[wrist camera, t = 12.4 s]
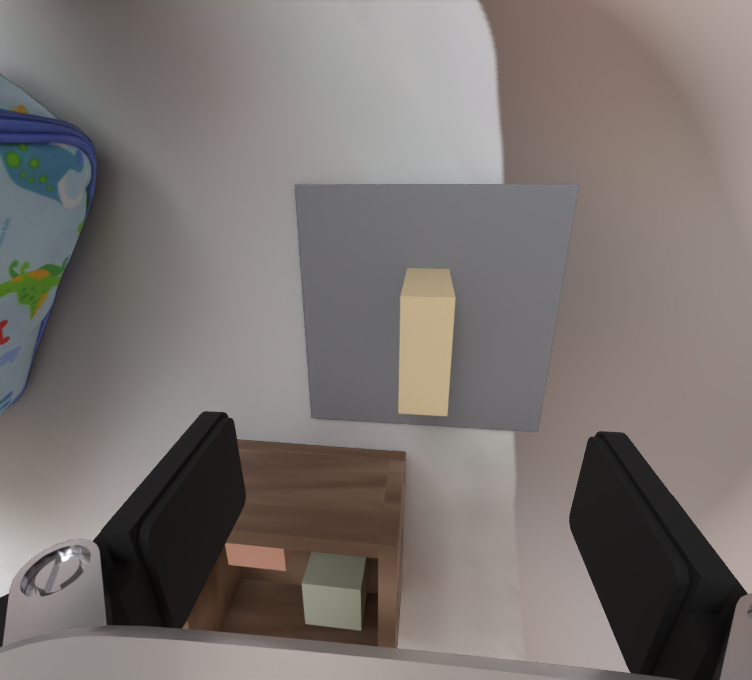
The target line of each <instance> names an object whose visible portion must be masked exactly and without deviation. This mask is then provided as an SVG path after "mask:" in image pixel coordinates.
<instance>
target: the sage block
mask: <svg viewBox="0 0 752 680" xmlns="http://www.w3.org/2000/svg"><path fill="white" fill-rule="evenodd" d="M368 583H369V558H368V557H358V556H348V555H339V554H329V553H319V552H311V555H310V558H309V562H308V565H307V568H306V571H305V574H304V578H303V581H302V593H303V604H304V614H305V624H310V625H318V626H326V627H334V628H343V629H351V630H359V631H361V630H362V623H363V616H364V610H365V603H366V596H367V590H368Z"/></svg>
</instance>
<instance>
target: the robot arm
mask: <svg viewBox="0 0 752 680" xmlns="http://www.w3.org/2000/svg"><path fill="white" fill-rule="evenodd" d="M245 500H246V491H245V485H244V479H243V473H242V467H241V461H240V455H239V449H238V443H237V437H236V431H235V425H234V421H233V419H232V418H228V415H227V414H226V413H225V412H208V411H205V412H202V413H201V414H200V415H199V417H198V418H197V419H196V420H195V421H194V422H193V424H192V425H191V426H190V427H189V428H188V429H187V431H186V432H185V433H184V434H183V435H182V436H181V438H180V439H179V440H178V441H177V442H176V443H175V445H174V446H173V447H172V448H171V449H170V450H169V452H168V453H167V454H166V455H165V456H164V457H163V459H162V460H161V461H160V462H159V463H158V464H157V466H156V467H155V468H154V469H153V470H152V471H151V473H150V474H149V475H148V476H147V477H146V478H145V480H144V481H143V482H142V483H141V484H140V485H139V487H138V488H137V489H136V490H135V491H134V492H133V494H132V495H131V496H130V497H129V498H128V499H127V501H126V502H125V503H124V504H123V505H122V506H121V508H120V509H119V510H118V511H117V512H116V514H115V515H114V516H113V517H112V518H111V519H110V521H109V522H108V523H107V524H106V525H105V526H104V528H103V529H102V530H101V532H100V533H99V534H98V536H97V537H96V538H95V539H94V540H93V541H91V540H86V539H75V540H68V541H65V542H62V543H59V544H56V545H54V546H52V547H50V548H48V549H46V550H44V551H42V552H41V553H39V554H38V555H36V556H35V557H33V558H32V559H31V560H30V561H29V562H28V563H26V564H25V565H24V566H23V567H22V568H21V569H20V571H19V572H18V573H17V575H16V576H15V578H14V579H13V581H12V584H11V587H10V590H9V594H7V595H5V596H3V597H0V680H752V594H747V592H746V591H745V590H744V588H743V587H742V586H741V584H740V583H739V582H738V580H737V579H736V578H735V577H734V575H733V574H732V573H731V571H730V570H729V569H728V567H727V566H726V565H725V563H724V562H723V561H722V559H721V558H720V557H719V555H718V554H717V553H716V551H715V550H714V549H713V548H712V546H711V545H710V544H709V542H708V541H707V540H706V538H705V537H704V536H703V534H702V533H701V532H700V531H699V529H698V528H697V526H696V525H695V524H694V523H693V521H692V520H691V519H690V517H689V516H688V515H687V513H686V512H685V511H684V509H683V508H682V507H681V505H680V504H679V503H678V502H677V500H676V499H675V498H674V496H673V495H672V494H671V493H670V492H669V491H668V489H667V488H666V487H665V486H664V484H663V483H662V481H661V480H660V479H659V477H658V476H657V475H656V473H655V472H654V471H653V469H652V468H651V467H650V465H649V464H648V463H647V462H646V460H645V459H644V458H643V456H642V455H641V454H640V452H639V451H638V450H637V448H636V447H635V446H634V444H633V443H632V442H631V441H630V439H629V438H628V436H627V435H626V434H625V433H621V432H601V431H600V432H598V433H597V434H596V435H595V437H590V438H589V439H588V442H587V446H586V450H585V454H584V459H583V463H582V466H581V471H580V475H579V479H578V483H577V487H576V491H575V495H574V499H573V503H572V507H571V511H570V517H569V519H570V520H569V522H570V529H571V531H572V534H573V536H574V539H575V541H576V544H577V546H578V549H579V551H580V554H581V556H582V558H583V561H584V563H585V565H586V568H587V570H588V573H589V575H590V578H591V580H592V583H593V585H594V587H595V590H596V592H597V595H598V597H599V599H600V602H601V604H602V606H603V609H604V612H605V614H606V616H607V619H608V621H609V623H610V626H611V629H612V631H613V633H614V636H615V638H616V641H617V643H618V645H619V648H620V650H621V653H622V655H623V657H624V660H625V662H626V665H627V667H628V669H629V671H630V672H631V673H625V672H616V671H608V670H600V669H591V668H583V667H574V666H564V665H554V664H544V663H535V662H526V661H516V660H506V659H497V658H487V657H478V656H468V655H458V654H448V653H438V652H428V651H418V650H408V649H398V648H388V647H377V646H367V645H357V644H346V643H336V642H326V641H315V640H304V639H294V638H283V637H272V636H261V635H250V634H239V633H228V632H218V631H205V630H191V629H182V628H183V626H184V625H185V623H186V621H187V619H188V617H189V615H190V613H191V611H192V609H193V607H194V605H195V603H196V601H197V599H198V597H199V595H200V593H201V591H202V589H203V587H204V585H205V583H206V581H207V579H208V577H209V575H210V573H211V571H212V569H213V567H214V565H215V563H216V561H217V559H218V557H219V555H220V553H221V551H222V549H223V547H224V545H225V543H226V541H227V539H228V537H229V535H230V533H231V531H232V529H233V527H234V526H235V524H236V522H237V520H238V518H239V516H240V514H241V512H242V510H243V507H244V505H245Z"/></svg>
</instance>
